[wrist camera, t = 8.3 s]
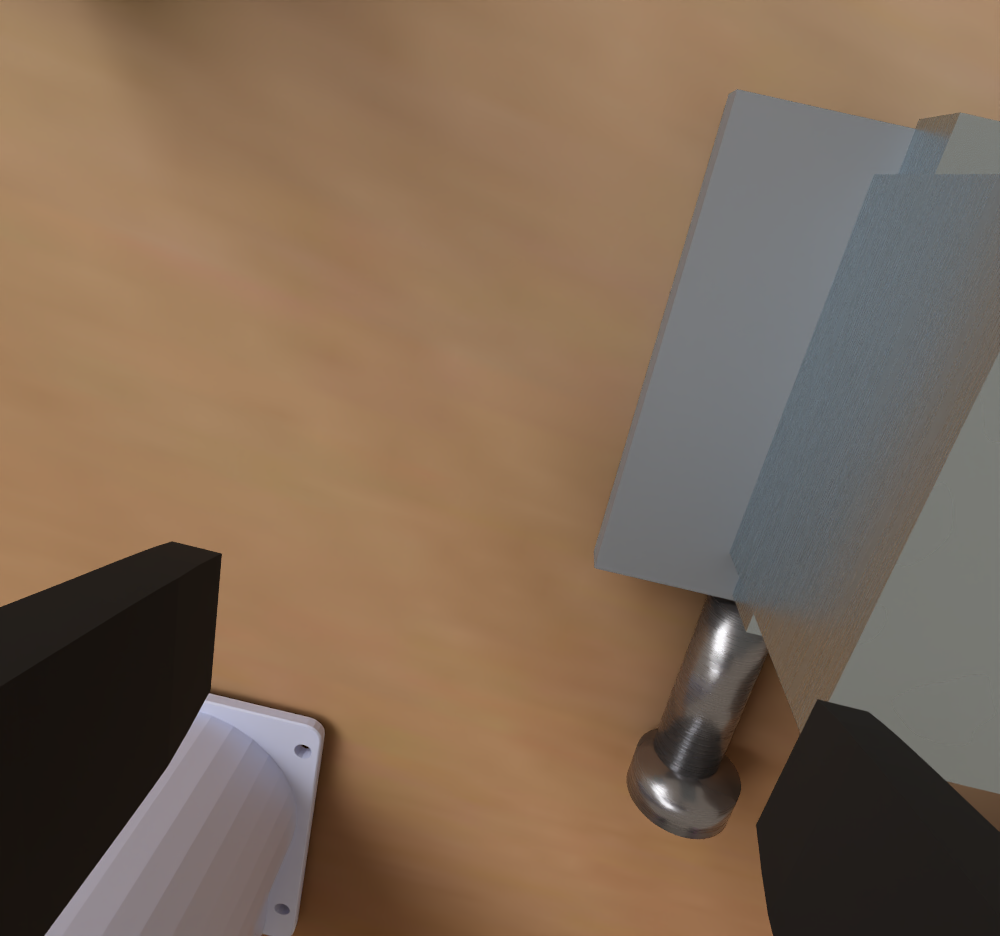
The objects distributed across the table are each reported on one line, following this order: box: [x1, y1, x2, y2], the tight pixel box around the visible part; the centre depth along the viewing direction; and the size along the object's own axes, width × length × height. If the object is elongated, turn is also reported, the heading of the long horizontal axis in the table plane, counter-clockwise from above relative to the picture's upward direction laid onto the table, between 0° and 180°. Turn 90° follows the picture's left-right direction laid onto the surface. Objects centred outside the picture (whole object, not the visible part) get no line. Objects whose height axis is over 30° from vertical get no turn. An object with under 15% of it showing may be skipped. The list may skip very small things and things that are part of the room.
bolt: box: [627, 595, 768, 839], centre depth 19 cm, size 6×3×3 cm, turn 168°
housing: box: [729, 113, 1000, 794], centre depth 12 cm, size 10×4×6 cm, turn 168°
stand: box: [594, 89, 915, 601], centre depth 16 cm, size 10×10×2 cm
